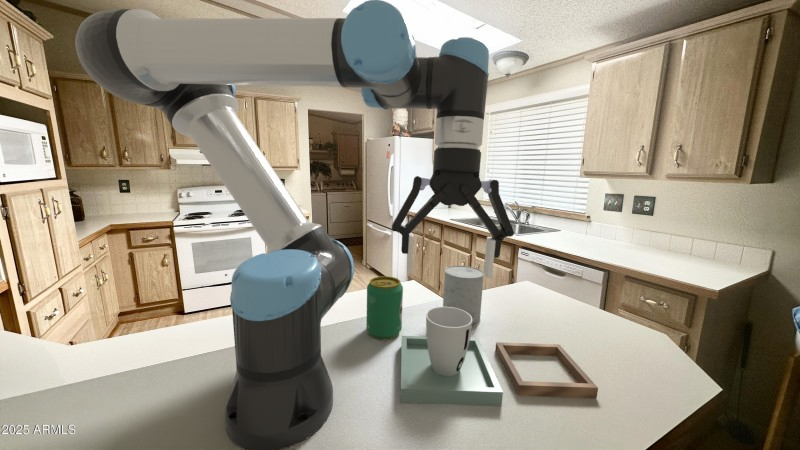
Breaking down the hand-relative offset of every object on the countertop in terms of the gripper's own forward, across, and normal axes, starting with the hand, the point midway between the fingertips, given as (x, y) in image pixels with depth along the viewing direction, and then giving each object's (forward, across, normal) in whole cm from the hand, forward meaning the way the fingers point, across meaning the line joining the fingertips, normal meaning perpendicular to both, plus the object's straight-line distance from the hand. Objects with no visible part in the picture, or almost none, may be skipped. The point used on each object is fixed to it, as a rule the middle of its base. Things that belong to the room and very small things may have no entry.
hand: (448, 273), depth 54 cm
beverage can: (+19, -11, +14) cm, 26 cm away
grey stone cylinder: (+19, +8, +22) cm, 30 cm away
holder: (+19, +19, +1) cm, 26 cm away
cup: (+18, +1, 0) cm, 18 cm away
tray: (+19, +1, 0) cm, 19 cm away
